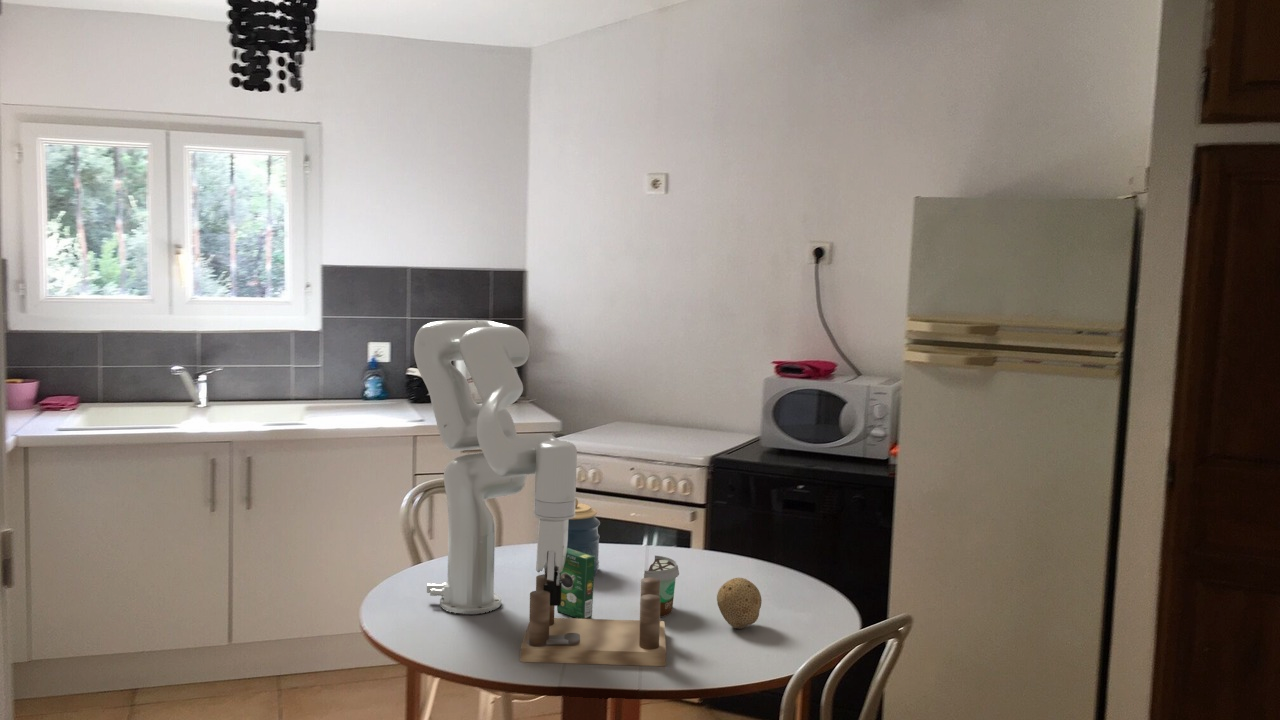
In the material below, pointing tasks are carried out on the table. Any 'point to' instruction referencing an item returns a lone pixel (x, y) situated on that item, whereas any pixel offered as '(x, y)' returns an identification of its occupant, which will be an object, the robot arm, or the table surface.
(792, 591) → the table surface
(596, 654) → the wooden peg board
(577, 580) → the coffee box
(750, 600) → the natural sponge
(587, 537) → the canister
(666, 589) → the food container
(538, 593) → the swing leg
